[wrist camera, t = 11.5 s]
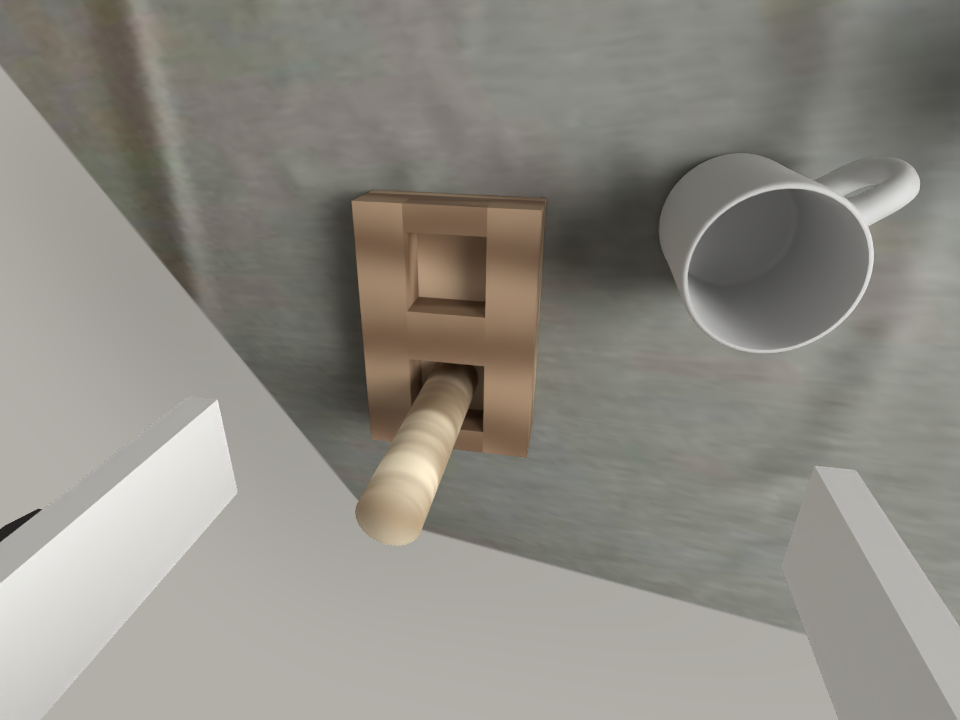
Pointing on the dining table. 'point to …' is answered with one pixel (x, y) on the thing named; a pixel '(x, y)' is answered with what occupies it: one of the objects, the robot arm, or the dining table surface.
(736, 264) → the mug
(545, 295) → the dining table surface
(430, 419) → the pin
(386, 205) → the bore block
